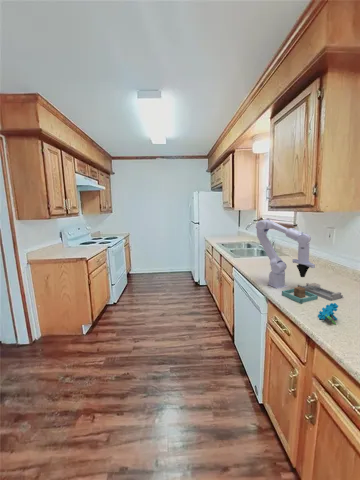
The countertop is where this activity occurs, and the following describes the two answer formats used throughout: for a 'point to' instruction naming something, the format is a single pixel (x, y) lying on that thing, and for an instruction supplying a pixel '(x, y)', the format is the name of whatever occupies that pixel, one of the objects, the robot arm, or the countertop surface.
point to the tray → (299, 300)
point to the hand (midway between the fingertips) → (302, 276)
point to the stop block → (299, 292)
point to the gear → (328, 312)
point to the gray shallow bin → (324, 293)
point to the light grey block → (314, 286)
